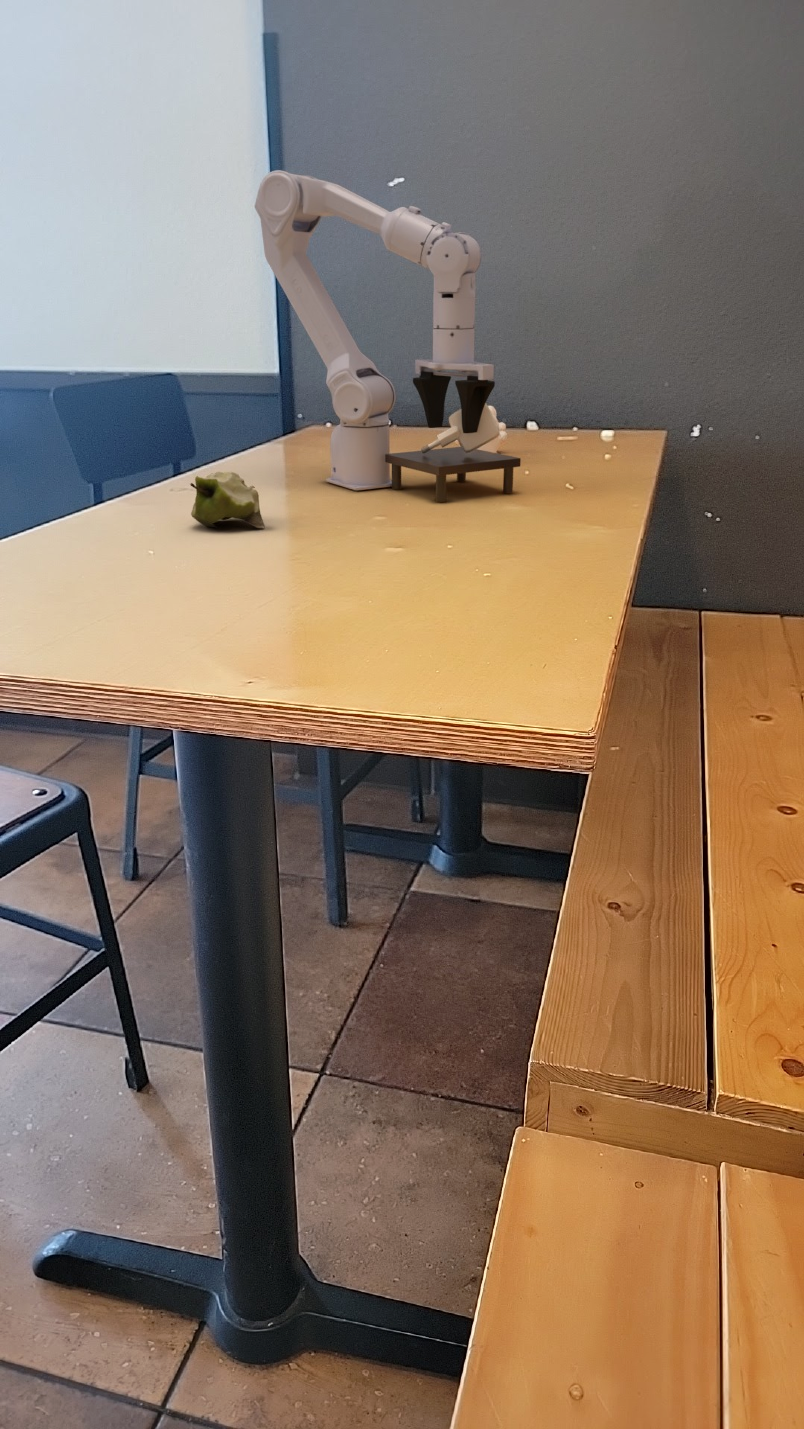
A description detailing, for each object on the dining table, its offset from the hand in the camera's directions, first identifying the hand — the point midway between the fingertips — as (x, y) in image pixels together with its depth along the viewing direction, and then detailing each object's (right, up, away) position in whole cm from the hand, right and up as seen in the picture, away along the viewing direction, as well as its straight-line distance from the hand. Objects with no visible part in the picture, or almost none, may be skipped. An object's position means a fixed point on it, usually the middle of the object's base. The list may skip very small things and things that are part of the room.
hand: (452, 430), depth 151 cm
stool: (0, -8, +3) cm, 9 cm away
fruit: (-29, -17, -18) cm, 38 cm away
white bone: (+6, +4, +32) cm, 33 cm away
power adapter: (+2, -3, +1) cm, 4 cm away
